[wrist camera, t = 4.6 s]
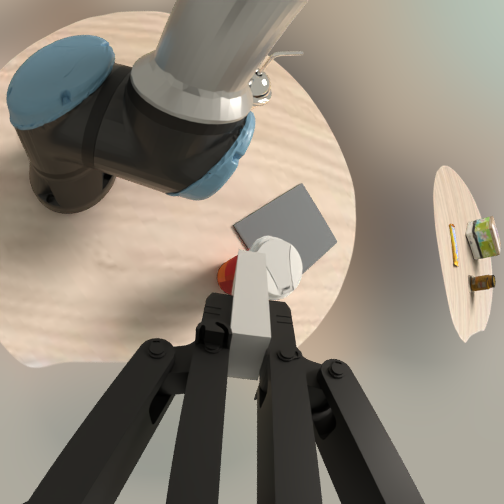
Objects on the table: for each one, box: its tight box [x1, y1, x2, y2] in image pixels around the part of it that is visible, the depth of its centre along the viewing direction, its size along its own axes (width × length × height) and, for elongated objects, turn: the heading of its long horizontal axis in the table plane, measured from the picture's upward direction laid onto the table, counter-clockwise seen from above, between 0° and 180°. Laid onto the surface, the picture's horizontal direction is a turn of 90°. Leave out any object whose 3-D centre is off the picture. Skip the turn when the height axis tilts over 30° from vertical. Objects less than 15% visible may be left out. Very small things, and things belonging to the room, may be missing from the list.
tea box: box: [466, 216, 501, 259], centre depth 92 cm, size 15×10×15 cm, turn 44°
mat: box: [233, 183, 337, 274], centre depth 51 cm, size 18×14×1 cm
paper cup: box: [217, 236, 303, 300], centre depth 39 cm, size 8×8×14 cm
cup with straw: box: [248, 51, 303, 111], centre depth 41 cm, size 8×9×20 cm
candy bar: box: [449, 224, 459, 267], centre depth 86 cm, size 17×4×2 cm, turn 179°
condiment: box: [469, 275, 495, 293], centre depth 87 cm, size 7×8×12 cm
